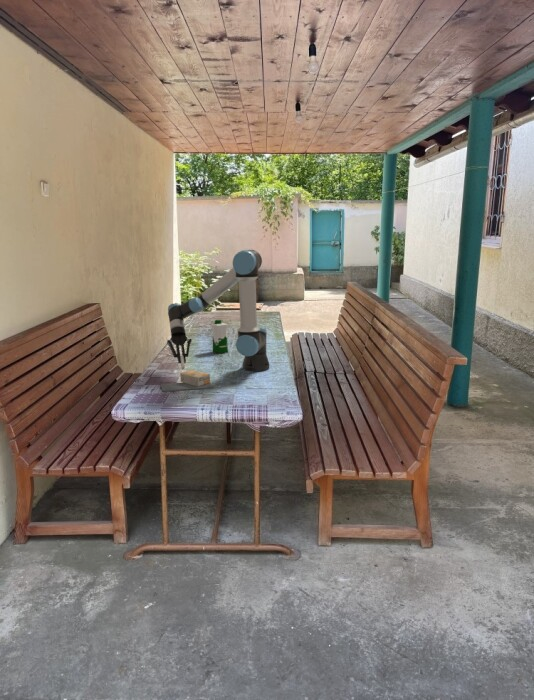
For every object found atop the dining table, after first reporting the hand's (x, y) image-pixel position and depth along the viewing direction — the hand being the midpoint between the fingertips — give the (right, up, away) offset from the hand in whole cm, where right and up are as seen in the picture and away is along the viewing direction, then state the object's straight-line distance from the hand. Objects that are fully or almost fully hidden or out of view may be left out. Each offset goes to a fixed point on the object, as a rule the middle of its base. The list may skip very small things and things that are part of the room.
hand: (183, 368), depth 267 cm
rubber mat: (+3, -9, -9) cm, 13 cm away
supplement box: (+2, -4, -1) cm, 4 cm away
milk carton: (+13, +8, +66) cm, 68 cm away
